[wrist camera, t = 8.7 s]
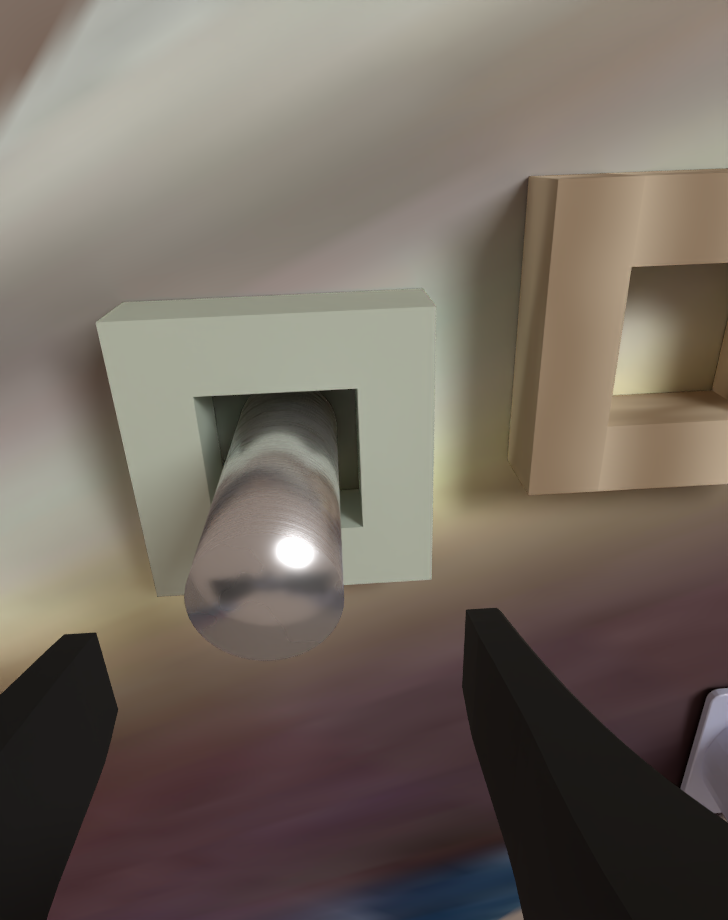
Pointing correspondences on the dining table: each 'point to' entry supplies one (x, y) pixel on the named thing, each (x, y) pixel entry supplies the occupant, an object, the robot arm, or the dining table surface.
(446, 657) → the dining table surface
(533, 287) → the socket block
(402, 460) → the block
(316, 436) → the rod
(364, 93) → the dining table surface
